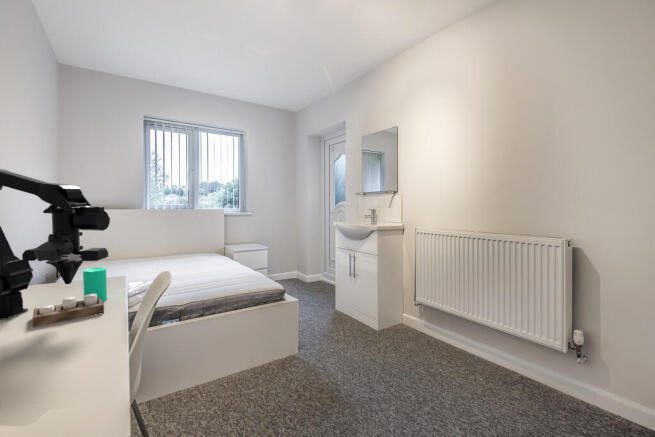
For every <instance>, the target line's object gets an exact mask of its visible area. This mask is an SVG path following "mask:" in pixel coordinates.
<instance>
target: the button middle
mask: <svg viewBox="0 0 655 437" xmlns="http://www.w3.org/2000/svg"><path fill="white" fill-rule="evenodd" d="M76 302H77V297H76V296H69V297H65V298H63V299H62V304H63V310H66V309H72V308H77V306H76Z"/></svg>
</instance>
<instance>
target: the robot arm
mask: <svg viewBox="0 0 655 437" xmlns="http://www.w3.org/2000/svg"><path fill="white" fill-rule="evenodd" d="M4 187H6V188H9V189H13V190H16V191H20V192H23V193H27V194H31V195H34V196H35V197H38V198H39V200H41V201H43V202H44V203H47V204H49V206H48V207H47V208H45V209H43V211H42V213H43V214H51V223H52V225H51V226H52V233H51V234H48V236H47V241H45V242H43V243H42V244H40V245H39V246H36V247H34V248H30V249H25V250H24V251H23V252H22V255H21V257H22V258H19V257H18V256H16V255H15V254H14V252H13V250H12V248H11V245H10V244H9V241H8V238H7V237H6V234H5V232H4V231H3V230H4V229H3V228H2V226H1V225H0V320H5V319H6V320H7V319H9V318H12V317H15V316H17V315H20V314H22V313H25V312H28V311H29V308H24V300H23V299H24V298H23V296H22V291H23V290H28V288H29V285H30V282H32V280H33V277H34V276H33V272H34V269H33V268H32V266H31V265H30V262H34V261H36V260H37V261H38V262H43V261H46V262H45V263H46V264H47V265H48V264H49V265H51V266H53V267H54V268H55V269H56V270H57V272H58V273H59V275H60V277H61V278H62V281H63V282H64V284H65V285H71V283H72V282H73V280H74V278H75V276H76V274H77V272H78V270H79V268H80V267H81V265H82V264H83V262H97V261H101V260H104V259H106V258H108V257H109V251H108V250H107V248H106V247H91V248H87V249H84V246H83V245H81V244H80V243H81V240H80V237H81V236H83V231H99V232H100V231H106V230H107V229H108V227H109V226H110V223H111V217H110V216H109V214H108V212H107V211H105V207H104V206H92V204H91V203H90V202H89V201H88V199H87V198H86V197H85V195H84V194H83V191H82V190H81V188H80V187H79V186H77V185H73V184H64V183H52V182H47V181H43V180H40V179H36V178H33V177H30V176H26V175H23V174H19V173H16V172H12V171H10V170H7V169H5V168H0V191H1V190H2V189H3V188H4Z"/></svg>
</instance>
